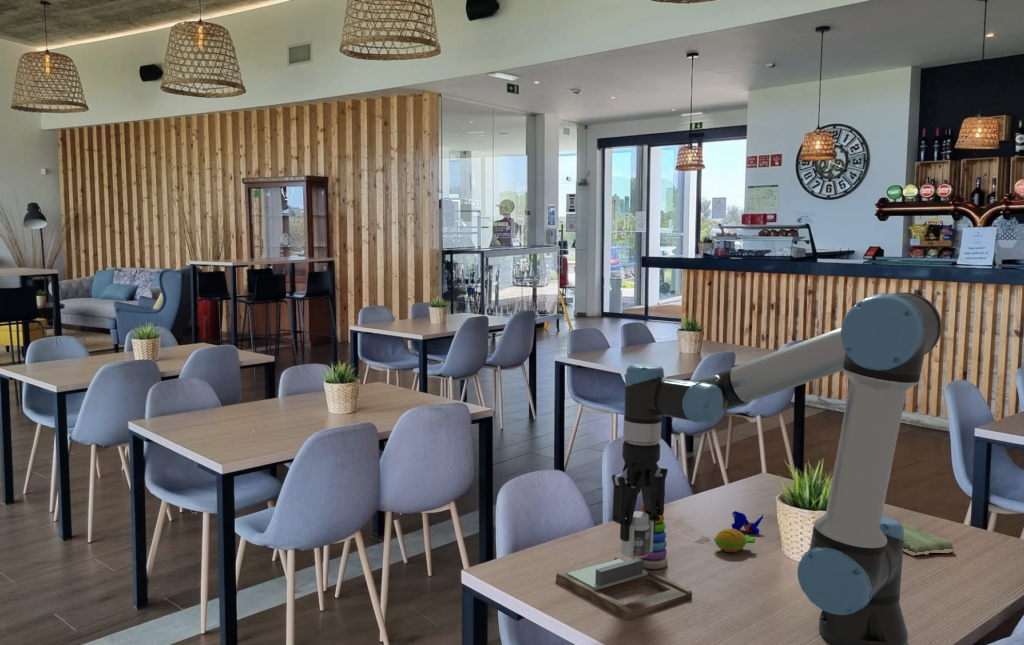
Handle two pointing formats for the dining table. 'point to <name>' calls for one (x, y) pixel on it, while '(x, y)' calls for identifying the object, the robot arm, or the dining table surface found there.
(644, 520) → the pill bottle
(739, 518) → the figurine
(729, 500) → the dining table surface
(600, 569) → the lid
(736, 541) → the toy pineapple
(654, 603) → the wooden frame
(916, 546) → the washcloth
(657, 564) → the stacking toy
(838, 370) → the robot arm
